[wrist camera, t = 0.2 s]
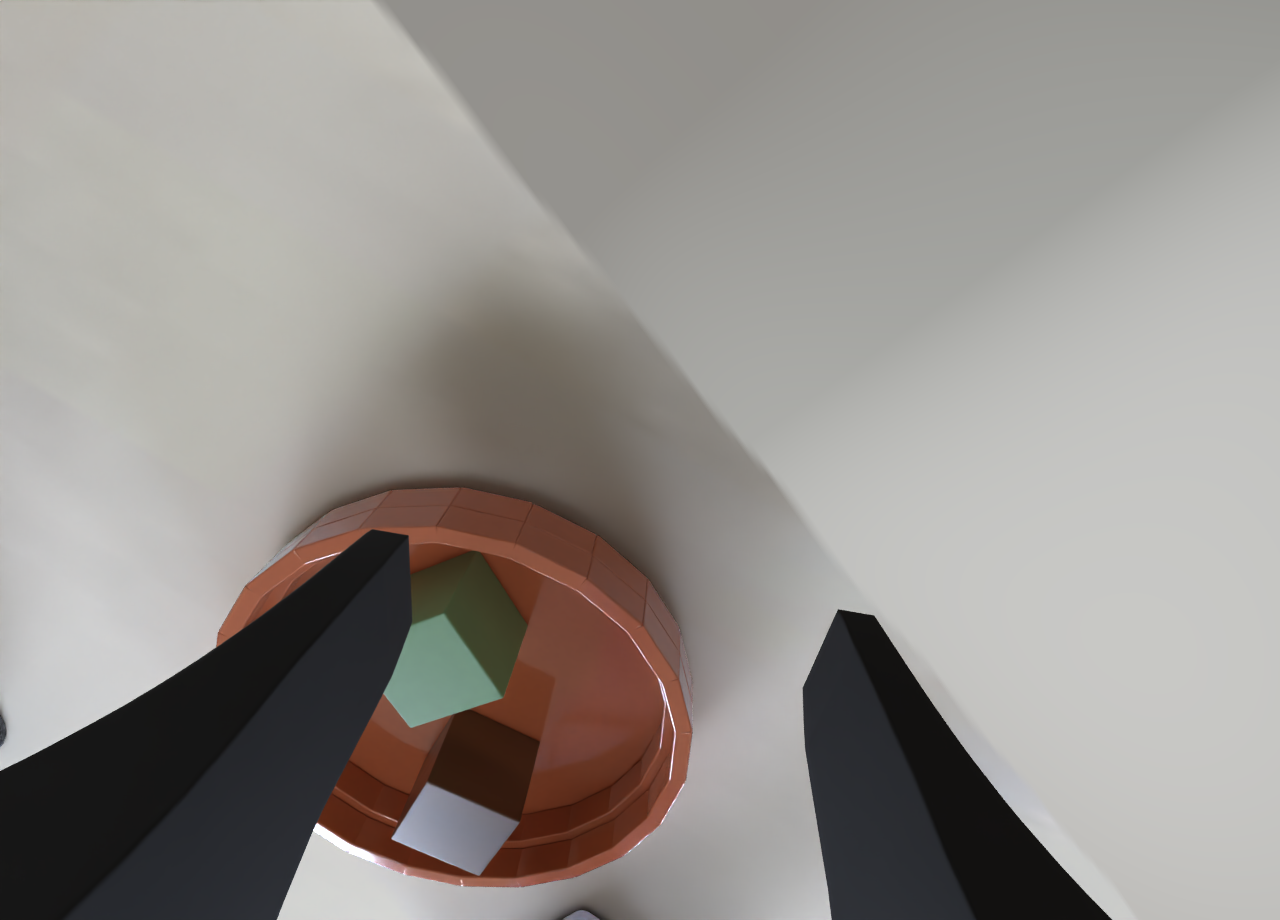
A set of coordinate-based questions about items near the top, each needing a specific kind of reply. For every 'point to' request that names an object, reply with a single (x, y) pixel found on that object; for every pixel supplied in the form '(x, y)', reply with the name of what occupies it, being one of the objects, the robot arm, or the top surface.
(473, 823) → the walnut cube
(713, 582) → the top surface
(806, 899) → the top surface
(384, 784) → the bowl
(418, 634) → the sage-green cube
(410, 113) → the top surface
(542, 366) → the top surface
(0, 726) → the dark grey tiered piece
